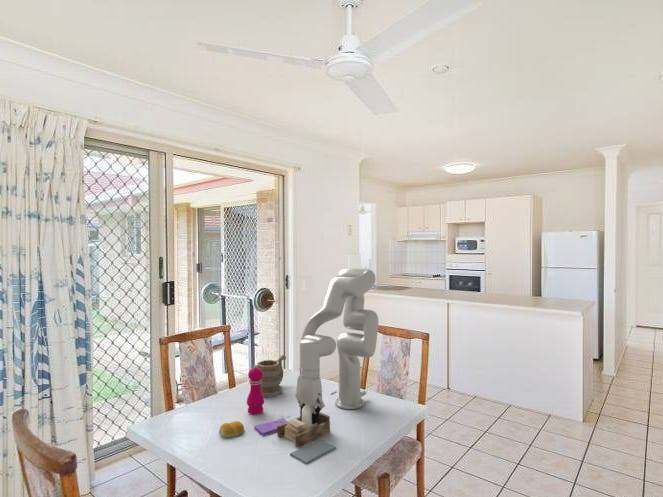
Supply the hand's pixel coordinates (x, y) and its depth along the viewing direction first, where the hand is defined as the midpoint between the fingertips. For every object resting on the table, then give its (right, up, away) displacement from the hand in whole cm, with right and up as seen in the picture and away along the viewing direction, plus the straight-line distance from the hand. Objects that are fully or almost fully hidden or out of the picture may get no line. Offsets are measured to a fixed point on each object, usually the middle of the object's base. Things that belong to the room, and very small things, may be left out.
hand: (309, 419), depth 150 cm
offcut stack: (-5, -5, -5) cm, 8 cm away
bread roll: (-29, -5, -1) cm, 30 cm away
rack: (-2, -5, -2) cm, 5 cm away
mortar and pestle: (-20, -4, +43) cm, 48 cm away
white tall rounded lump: (0, -5, 0) cm, 5 cm away
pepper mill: (-24, -5, +18) cm, 30 cm away
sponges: (-14, -5, +3) cm, 15 cm away
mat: (+2, -5, -14) cm, 15 cm away
